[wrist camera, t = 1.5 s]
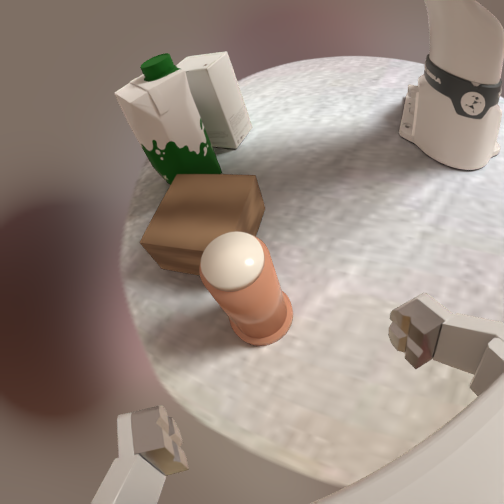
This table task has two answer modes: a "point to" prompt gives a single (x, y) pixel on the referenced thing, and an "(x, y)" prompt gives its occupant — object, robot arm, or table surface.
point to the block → (201, 217)
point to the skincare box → (217, 98)
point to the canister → (246, 287)
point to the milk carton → (167, 120)
